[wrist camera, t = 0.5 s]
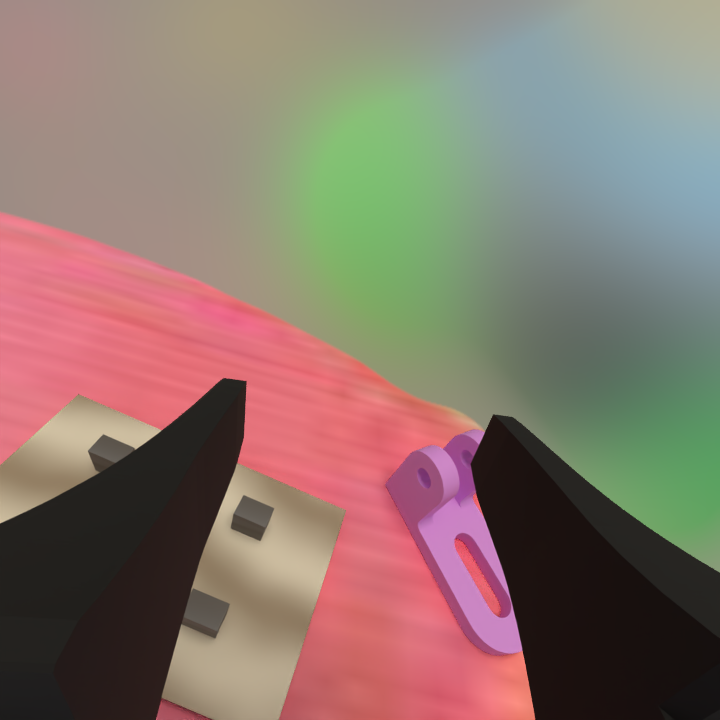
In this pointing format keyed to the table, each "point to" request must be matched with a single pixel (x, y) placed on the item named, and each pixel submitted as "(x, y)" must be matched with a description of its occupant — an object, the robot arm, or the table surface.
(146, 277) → the table surface
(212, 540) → the beige board with pegs
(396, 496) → the bracket
